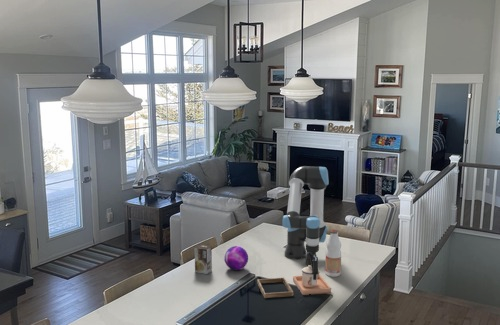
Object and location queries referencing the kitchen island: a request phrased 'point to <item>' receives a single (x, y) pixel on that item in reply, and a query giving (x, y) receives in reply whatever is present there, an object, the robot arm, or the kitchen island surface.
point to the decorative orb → (236, 258)
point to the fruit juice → (333, 255)
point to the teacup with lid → (308, 276)
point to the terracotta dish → (318, 289)
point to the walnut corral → (277, 294)
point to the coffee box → (203, 259)
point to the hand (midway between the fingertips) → (311, 281)
